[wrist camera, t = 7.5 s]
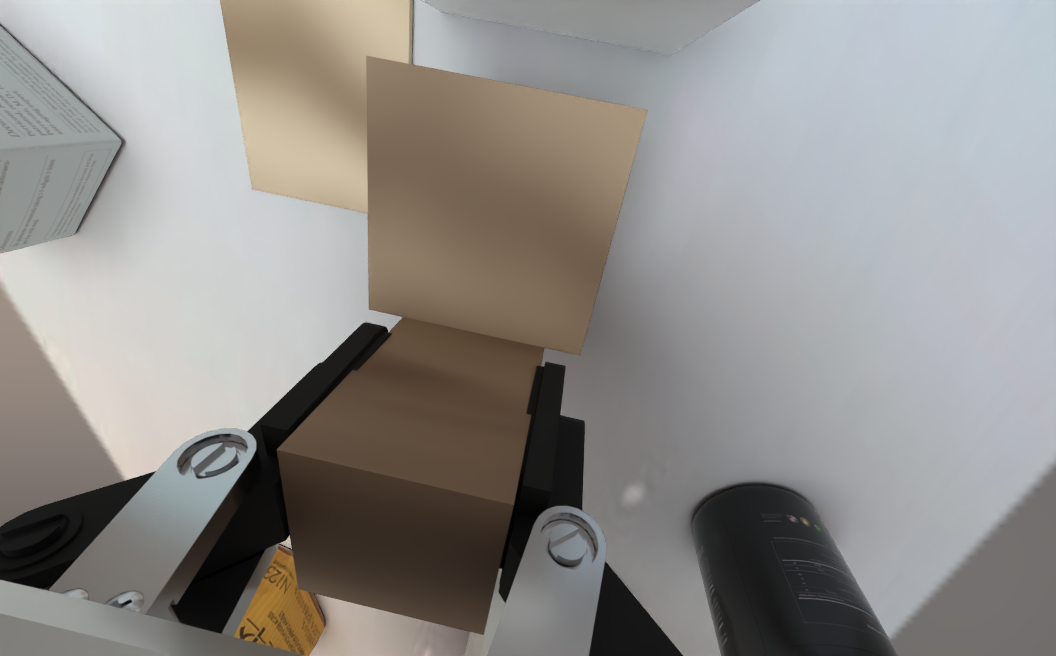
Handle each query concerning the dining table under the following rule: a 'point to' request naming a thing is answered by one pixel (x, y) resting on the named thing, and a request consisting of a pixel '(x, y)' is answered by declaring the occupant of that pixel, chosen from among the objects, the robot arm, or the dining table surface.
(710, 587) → the supplement bottle
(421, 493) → the wooden block stack
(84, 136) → the supplement box
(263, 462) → the robot arm
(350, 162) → the pad
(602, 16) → the tile
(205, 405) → the dining table surface
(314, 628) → the pancake mix bag
